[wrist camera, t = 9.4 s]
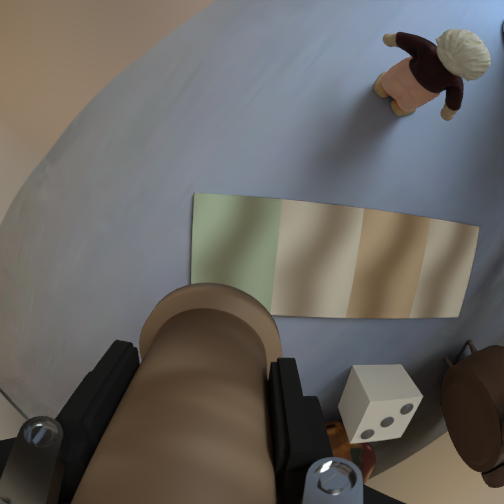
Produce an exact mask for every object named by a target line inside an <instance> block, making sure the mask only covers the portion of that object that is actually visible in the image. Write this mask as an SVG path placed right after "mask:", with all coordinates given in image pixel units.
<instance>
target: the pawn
mask: <svg viewBox="0 0 504 504" xmlns="http://www.w3.org/2000/svg"><path fill="white" fill-rule="evenodd" d="M140 354H141V358H142V362H141V364H140V365H139V367H138V369H137V371H136V373H135V375H134V377H133V378H132V380H131V382H130V384H129V386H128V388H127V390H126V392H125V393H124V395H123V397H122V399H121V401H120V403H119V405H118V407H117V409H116V411H115V413H114V415H113V417H112V419H111V421H110V422H109V424H108V426H107V428H106V430H105V432H104V434H103V436H102V438H101V440H100V442H99V444H98V446H97V449H96V451H95V453H94V455H93V457H92V459H91V461H90V463H89V465H88V467H87V469H86V471H85V473H84V476H83V478H82V480H81V482H80V484H79V486H78V489H77V491H76V493H75V495H74V497H73V500H72V502H71V504H277V494H276V480H275V472H274V458H273V443H272V429H271V416H270V402H269V389H268V378H269V371H270V364H271V362H277V358H282V349H281V343H280V337H279V332H278V328H277V326H276V323H275V321H274V319H273V318H272V316H271V314H270V313H269V312H268V310H267V309H266V308H265V307H264V306H263V305H262V304H261V303H260V302H259V301H258V300H257V299H255V298H254V297H252V296H251V295H249V294H248V293H246V292H244V291H242V290H240V289H237V288H235V287H232V286H228V285H225V284H219V283H195V284H191V285H186V286H183V287H181V288H178V289H176V290H174V291H172V292H171V293H169V294H168V295H166V296H165V297H164V298H163V299H162V300H161V301H160V302H159V303H158V304H157V305H156V307H155V308H154V310H153V311H152V313H151V314H150V316H149V317H148V319H147V320H146V322H145V324H144V326H143V328H142V332H141V335H140Z"/></svg>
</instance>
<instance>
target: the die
mask: <svg viewBox="0 0 504 504" xmlns="http://www.w3.org/2000/svg"><path fill="white" fill-rule="evenodd" d="M422 398H423V395H422V394H421V392H420V391H419V389H418V388H417V386H416V385H415V384H414V382H413V381H412V379H411V378H410V376H409V375H408V373H407V372H406V371H405V369H404V368H403V366H402V365H401V364H392V365H353V366H352V369H351V371H350V374H349V377H348V380H347V383H346V386H345V389H344V391H343V394H342V397H341V399H340V402H339V405H338V409H339V412H340V415H341V418H342V421H343V424H344V427H345V430H346V433H347V436H348V439H349V442H350V444H352V443H363V442H372V441H380V440H388V439H395V438H401V436H402V434H403V433H404V431H405V429H406V427H407V426H408V424H409V422H410V420H411V419H412V417H413V415H414V413H415V411H416V410H417V408H418V406H419V404H420V402H421V400H422Z"/></svg>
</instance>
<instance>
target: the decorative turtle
mask: <svg viewBox="0 0 504 504" xmlns="http://www.w3.org/2000/svg"><path fill="white" fill-rule="evenodd" d="M325 426H326V430H327V433H328V437H329V441H330V445H331V448H332V452H333V456H334V457H338V458H344V459H346V460H349V461H351V462H352V463H354V464H355V465H356V466H357V467H358V468H359V470H360V471H361V473H362V477H363V484H364V483H365V482H366V481H367V480H368V479H369V478H370V476H371V474H372V472H373V470H374V467H375V463H376V456H375V452H374V449H373V448H372V446H371V445H370V444H369V443H367V442H363V443H352V444H350V442H349V439H348V436H347V433H346V431H345V429H344V427H343V425H342V424H341V423H339V422H337V421H329V422H325Z"/></svg>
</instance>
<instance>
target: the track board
mask: <svg viewBox="0 0 504 504" xmlns="http://www.w3.org/2000/svg"><path fill="white" fill-rule="evenodd" d="M479 228H480V227H478V226H473V225H467V224H462V223H457V222H451V221H445V220H439V219H433V218H427V217H421V216H415V215H408V214H402V213H395V212H388V211H381V210H374V209H366V208H358V207H350V206H342V205H334V204H325V203H316V202H306V201H296V200H286V199H275V198H263V197H250V196H237V195H222V194H206V193H194V208H193V231H192V263H191V284H195V283H219V284H225V285H228V286H232V287H235V288H237V289H240V290H242V291H244V292H246V293H248V294H249V295H251V296H252V297H254V298H255V299H257V300H258V301H259V302H260V303H261V304H262V305H263V306H264V307H265V308H266V309H267V310H268V312H269V313H270V314H271V315H284V316H304V317H330V318H447V317H458V316H459V313H460V310H461V306H462V303H463V299H464V296H465V292H466V289H467V285H468V281H469V277H470V273H471V269H472V264H473V260H474V255H475V250H476V245H477V240H478V234H479Z"/></svg>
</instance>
